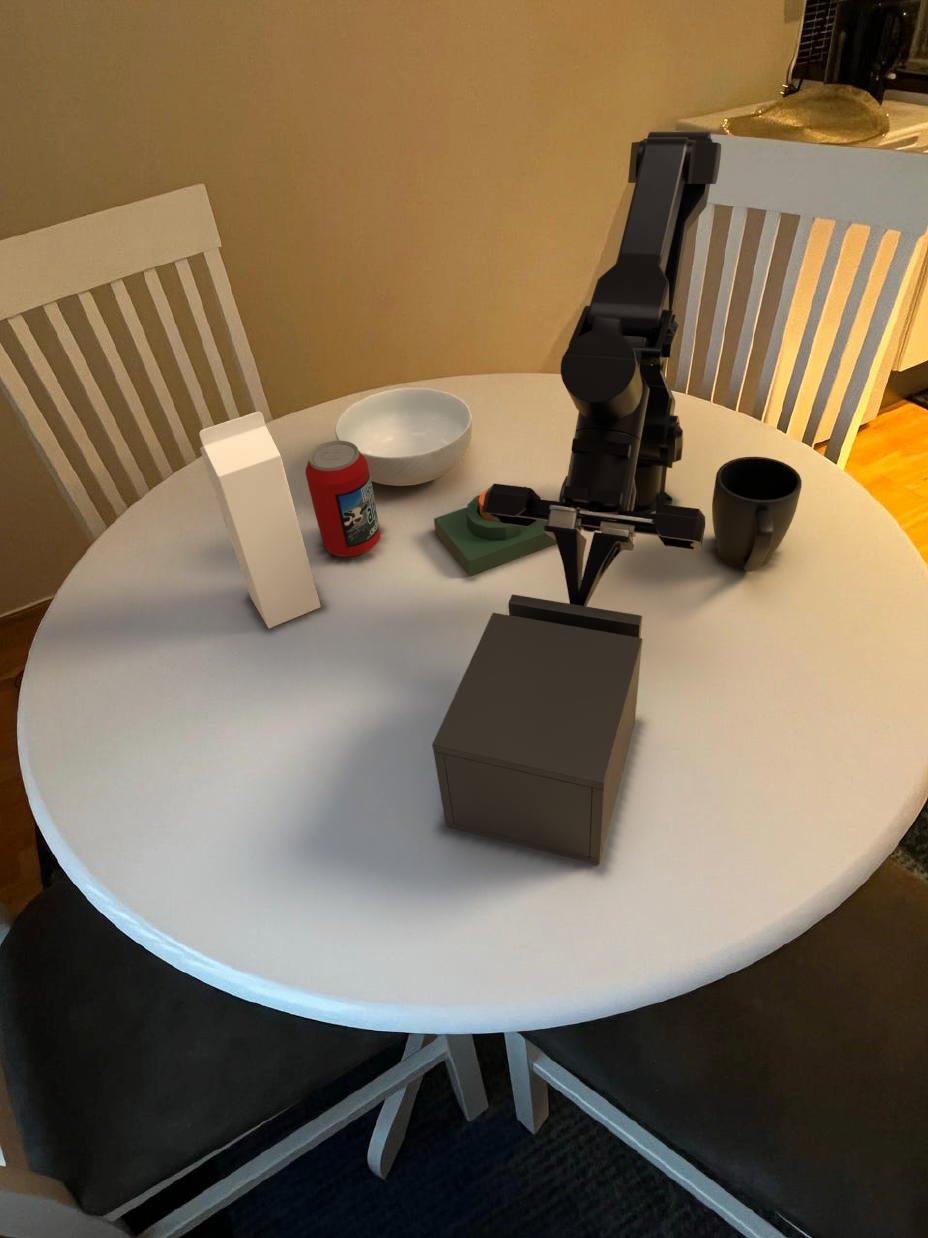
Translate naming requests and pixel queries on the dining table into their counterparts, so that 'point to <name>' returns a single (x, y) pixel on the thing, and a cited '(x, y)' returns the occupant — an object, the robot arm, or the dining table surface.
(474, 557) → the control block
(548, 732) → the brown storage cube
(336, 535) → the beverage can
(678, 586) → the dining table surface
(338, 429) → the cereal bowl
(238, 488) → the milk
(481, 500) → the button
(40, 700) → the dining table surface
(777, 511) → the mug
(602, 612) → the drawer
